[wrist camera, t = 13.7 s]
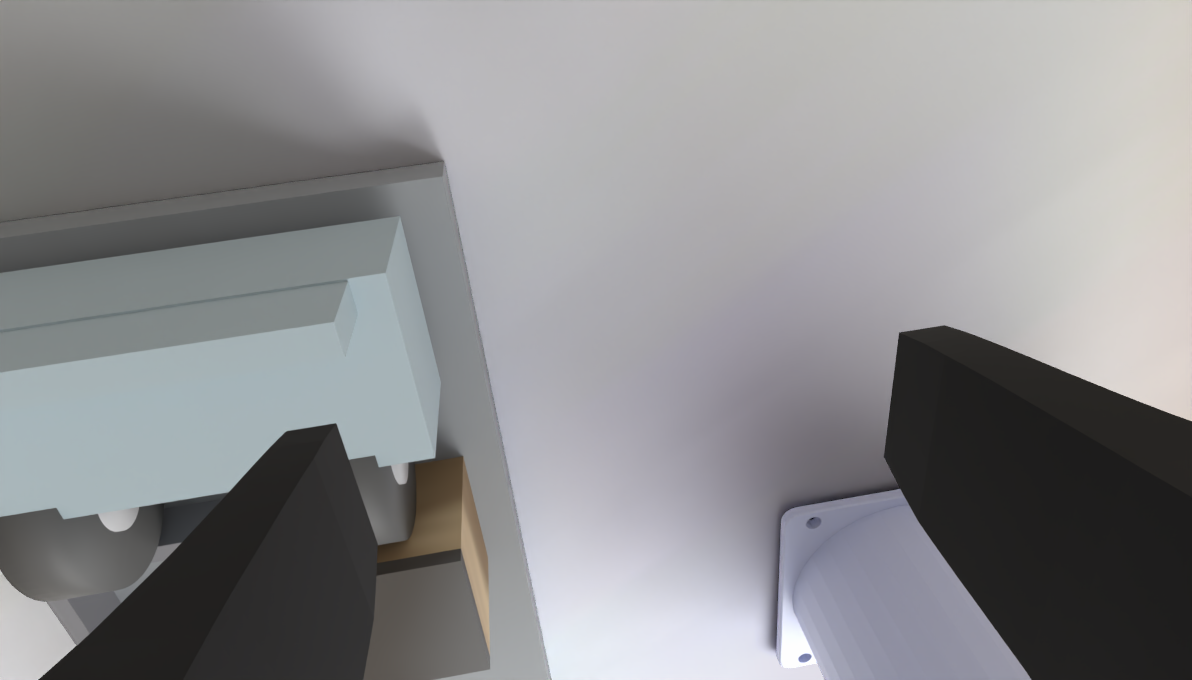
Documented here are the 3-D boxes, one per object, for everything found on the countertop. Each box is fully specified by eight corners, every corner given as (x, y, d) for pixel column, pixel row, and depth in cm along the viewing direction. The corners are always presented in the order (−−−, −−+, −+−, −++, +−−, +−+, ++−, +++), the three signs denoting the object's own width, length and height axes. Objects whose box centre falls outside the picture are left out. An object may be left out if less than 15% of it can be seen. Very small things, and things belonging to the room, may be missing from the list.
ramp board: (444, 160, 18) (439, 198, 16) (564, 744, 30) (572, 814, 28) (-99, 236, 17) (-190, 287, 15) (250, 805, 29) (231, 882, 27)
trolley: (403, 203, 17) (375, 312, 12) (464, 456, 21) (460, 612, 16) (-75, 270, 16) (-292, 413, 12) (78, 519, 20) (-42, 702, 15)
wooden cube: (463, 456, 21) (460, 561, 17) (488, 558, 23) (490, 669, 20) (317, 480, 21) (287, 591, 17) (356, 581, 23) (335, 698, 19)
